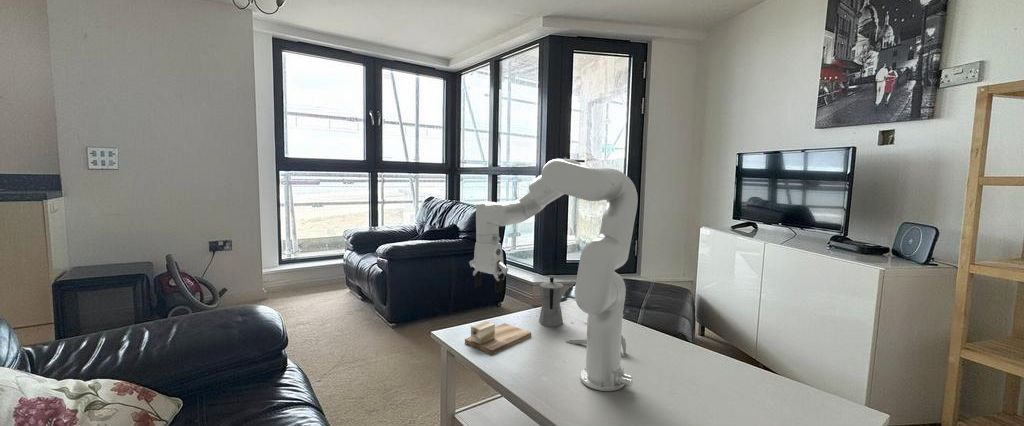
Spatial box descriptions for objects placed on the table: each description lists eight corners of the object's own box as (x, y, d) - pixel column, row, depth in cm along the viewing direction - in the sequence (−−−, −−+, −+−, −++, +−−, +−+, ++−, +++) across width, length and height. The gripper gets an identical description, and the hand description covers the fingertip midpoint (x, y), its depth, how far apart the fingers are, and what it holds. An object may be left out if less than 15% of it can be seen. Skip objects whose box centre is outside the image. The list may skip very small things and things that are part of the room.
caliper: (625, 353, 138) (626, 335, 137) (625, 354, 137) (625, 336, 136) (566, 341, 147) (566, 324, 146) (565, 342, 146) (565, 325, 145)
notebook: (531, 336, 150) (531, 332, 150) (491, 354, 135) (491, 350, 135) (504, 327, 159) (504, 323, 159) (464, 343, 144) (464, 338, 144)
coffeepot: (539, 316, 171) (540, 272, 169) (562, 316, 170) (563, 273, 168) (538, 330, 156) (538, 283, 154) (563, 331, 155) (564, 284, 153)
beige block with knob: (496, 337, 146) (496, 323, 145) (477, 345, 139) (477, 330, 139) (487, 333, 149) (487, 320, 148) (468, 341, 142) (468, 327, 142)
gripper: (514, 240, 137) (515, 291, 139) (477, 235, 148) (478, 282, 150) (498, 243, 131) (499, 296, 133) (461, 237, 143) (462, 286, 144)
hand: (488, 289), depth 141 cm, fingers open, 9 cm apart
